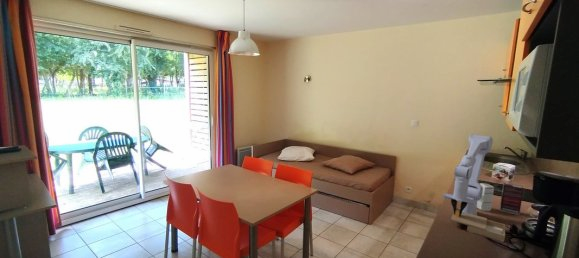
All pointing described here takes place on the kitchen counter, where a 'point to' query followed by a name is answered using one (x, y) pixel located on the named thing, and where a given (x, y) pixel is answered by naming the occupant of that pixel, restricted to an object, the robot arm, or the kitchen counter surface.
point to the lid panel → (469, 219)
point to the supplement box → (511, 198)
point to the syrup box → (486, 197)
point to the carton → (490, 230)
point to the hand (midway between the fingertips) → (457, 214)
